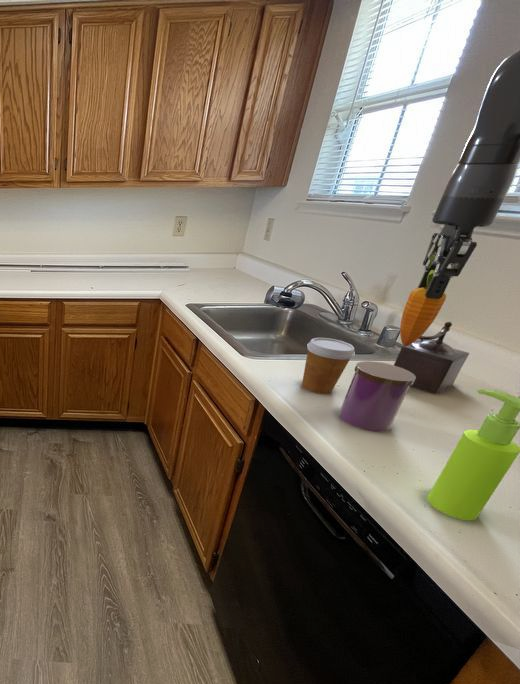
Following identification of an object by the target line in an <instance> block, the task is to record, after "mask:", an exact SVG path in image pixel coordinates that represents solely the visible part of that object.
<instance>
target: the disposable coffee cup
mask: <svg viewBox="0 0 520 684" xmlns="http://www.w3.org/2000/svg"><path fill="white" fill-rule="evenodd" d="M306 347H307V352H306V353H307V354H306V359H305V365H304V371H303V376H302V382H301V387H303V388H304V389H305V390H307V391H310V392H312V393H316V394H322V395H327V394H328V395H329V394H331V393H332V392H333V390H334V388H335V387H336V385H337V383H338V381H339V380H340V378H341V376H342V374H343V372H344V370H345V369H346V367H347V366H348V364H349V362H350V360H351V359H352V358H353V357H354V356H355V355H356V353H355V347H354V346H353V345H352V344H351V343H348V342H346V341H343V340H339V339H335V338H328V337H314V338H311V340H310V341H309V342H308V343H307V344H306Z"/></svg>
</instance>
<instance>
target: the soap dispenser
mask: <svg viewBox="0 0 520 684" xmlns="http://www.w3.org/2000/svg"><path fill="white" fill-rule="evenodd" d="M476 390H477V393H478V394H480V395H484V396H488V397H490V398H494V399H496V400H498V401H501V402H503V405H502V406H501V408H500V409H499V411H498V413H490V414H488V415H486V417H485V418H484V420H483V422H482V424H481V425H480V427H479V429H466V430H465V431H464V432H463V433H462V435H461V437H460V438H459V440H458V442H457V444H456V446H455V447H454V449H453V451H452V453H451V455H450V456H449V458H448V460H447V462H446V463H445V465H444V467H443V468H442V470H441V472H440V474H439V475H438V478H437V479H436V481H435V483H434V485H433V486H432V488H431V489H430V492H429V493H428V496H427V497H426V499H427V502H428V503H429V504H430V505H431V506H432V507H433V508H434V509H436V510H437V511H439V512H441V513H443V514H445V515H447V516H450V517H452V518H454V519H458V520H462V521H475V520H477V519H478V518H479V516H480V514H481V513H482V511H483V510H484V509H485V506H486V505H487V503H488V502H489V500H490V498H492V495H493V494H494V493H495V491H496V489H497V488H498V486H499V485H500V483H501V482H502V480H503V479H504V477H505V476H506V474H507V473H508V471H509V469H510V467H511V466H512V464H513V463H514V461H516V458H517V457H518V455H519V454H520V445H519V444H517V443H516V442H515V441H513V439H514V438H515V436H516V435H517V433H518V432H519V430H520V422H519V421H518V420H517V419H516V418H517V417H518V415H519V414H520V397H517V396H516V395H513V394H510V393H508V392H504V391H500V390H496V389H489V388H485V389H476Z"/></svg>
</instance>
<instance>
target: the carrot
mask: <svg viewBox="0 0 520 684" xmlns="http://www.w3.org/2000/svg"><path fill="white" fill-rule="evenodd" d="M434 272H435V270H431V271H430V273H429V274H428V277H427V287H426V288H418V287H417V288H414V289H412V291H410V293H409V296H408V298H407V301H406V302H405V303H406V304H405V306H404V308H403V312H402V316H401V320H400V327H399V334H400V340H401V341H400V342H401V345H402V346H408V345H410V344H412V343H413V342H414V341H418V340H419V339H418V338H419V337H420V336H424V334H425V333H426V331H428V330H429V328H430V326H431V325H432V324H433V322H434V321H436V318H437V316H438V315H439V313H440V311H441V309H442V307H443V306H444V303H445V302H446V298H447V294H446V293H445V292H444V294H443V296H442V298H440V299H433V298H427V297H426V296H425V293H426V291H427V289H428V286H429V284H430V282H431V280H432V277H433V275H434Z"/></svg>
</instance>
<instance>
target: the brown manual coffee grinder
mask: <svg viewBox="0 0 520 684" xmlns="http://www.w3.org/2000/svg"><path fill="white" fill-rule="evenodd" d="M443 325H444V326H442V328H441V330H440V331H439V332H437V333H436V334H433V335H432V336H424V335H422V336H420V337H419V338H418V339H417V340H416V341H414V342H413V343H412V344H410V345H408V346H404V345H402V346H401V348H400V350H399V353H398V355H397V356H396V360H395V361H394V364H393V365H394V366H397V367H400V368H403V369H405V370H408V371H410V372H411V373H413V374H414V375H415V376H416V379H415V381H414V383H413V384H412V385H410V387H412V388H415V389H417V390H421V391H423V392H427V393H431V394H434V395H436V394H440V393H441V392H444V391H445V390H447V389H449V388H450V387H452V386H453V385H454V384H455V382H456V380H457V377H458V375H459V374H460V371H462V368H463V366H464V365H465V362H466V360H467V359H468V357H469V355H470V352H468V351H464V350H461V349H456V348H453V347H452V346H450V345H449V344H447V343H446V342H444V339H445V337H446V335H447V333H448V332H450V330H451V327H452V326H453V322H451V321H446V322H445V323H444V324H443Z"/></svg>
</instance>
